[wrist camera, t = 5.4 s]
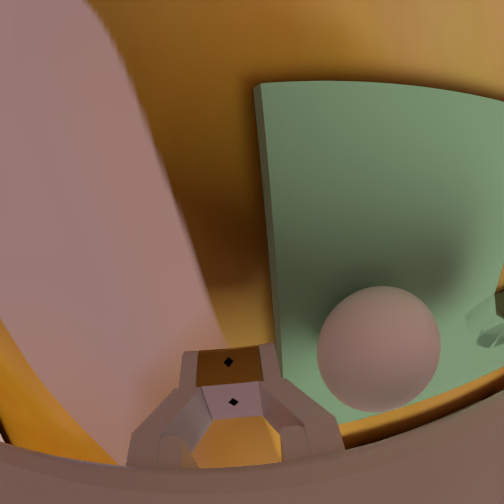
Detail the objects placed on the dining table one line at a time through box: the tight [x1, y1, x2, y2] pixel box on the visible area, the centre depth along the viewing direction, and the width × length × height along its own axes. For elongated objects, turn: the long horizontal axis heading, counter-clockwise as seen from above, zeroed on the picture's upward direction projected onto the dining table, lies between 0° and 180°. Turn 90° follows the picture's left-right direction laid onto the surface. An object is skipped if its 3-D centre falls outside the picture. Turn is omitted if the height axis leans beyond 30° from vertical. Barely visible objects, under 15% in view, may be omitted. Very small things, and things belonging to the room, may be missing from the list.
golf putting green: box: [253, 81, 504, 424], centre depth 13 cm, size 16×20×2 cm
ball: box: [317, 286, 441, 412], centre depth 9 cm, size 4×4×4 cm
